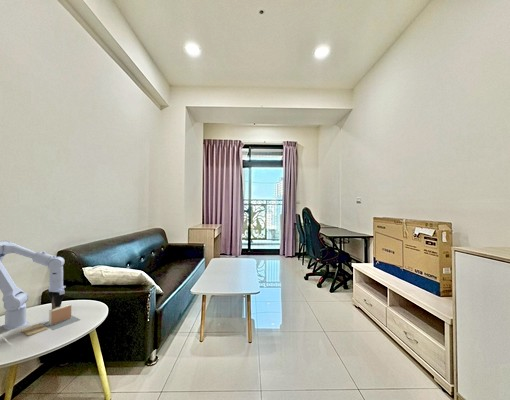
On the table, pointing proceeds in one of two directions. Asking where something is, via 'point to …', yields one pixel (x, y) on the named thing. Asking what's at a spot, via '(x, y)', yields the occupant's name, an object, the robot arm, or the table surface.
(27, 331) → the board
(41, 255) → the robot arm
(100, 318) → the table surface
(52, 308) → the dowel
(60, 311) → the tile
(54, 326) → the mat
